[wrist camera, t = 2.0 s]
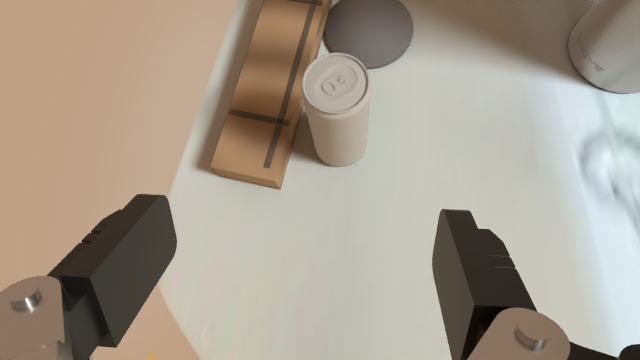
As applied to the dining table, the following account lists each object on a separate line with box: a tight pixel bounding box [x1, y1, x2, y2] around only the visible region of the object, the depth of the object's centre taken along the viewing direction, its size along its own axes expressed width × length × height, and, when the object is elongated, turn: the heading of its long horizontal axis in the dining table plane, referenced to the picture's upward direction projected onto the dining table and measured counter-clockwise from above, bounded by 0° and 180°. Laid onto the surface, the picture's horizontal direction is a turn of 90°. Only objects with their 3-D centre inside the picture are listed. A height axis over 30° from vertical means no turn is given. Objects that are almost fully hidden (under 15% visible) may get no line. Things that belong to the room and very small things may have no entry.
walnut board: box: [210, 0, 332, 190], centre depth 39 cm, size 24×6×3 cm, turn 166°
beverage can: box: [302, 53, 371, 167], centre depth 32 cm, size 5×5×12 cm
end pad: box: [325, 0, 413, 69], centre depth 41 cm, size 9×9×1 cm
